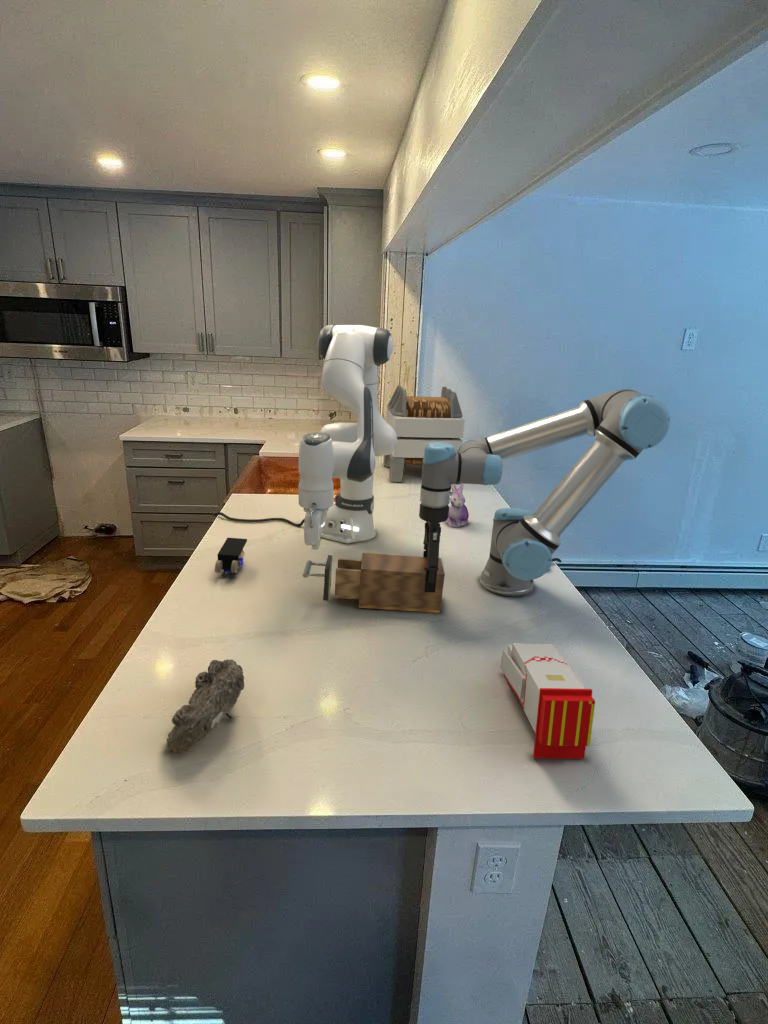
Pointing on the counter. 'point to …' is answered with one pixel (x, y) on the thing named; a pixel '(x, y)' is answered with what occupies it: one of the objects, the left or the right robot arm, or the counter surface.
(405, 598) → the cabinet
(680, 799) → the counter surface
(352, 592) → the drawer
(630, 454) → the right robot arm
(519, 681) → the toy
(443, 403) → the transformer
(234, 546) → the black wheeled block
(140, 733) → the counter surface
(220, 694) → the fossil
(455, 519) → the figurine
